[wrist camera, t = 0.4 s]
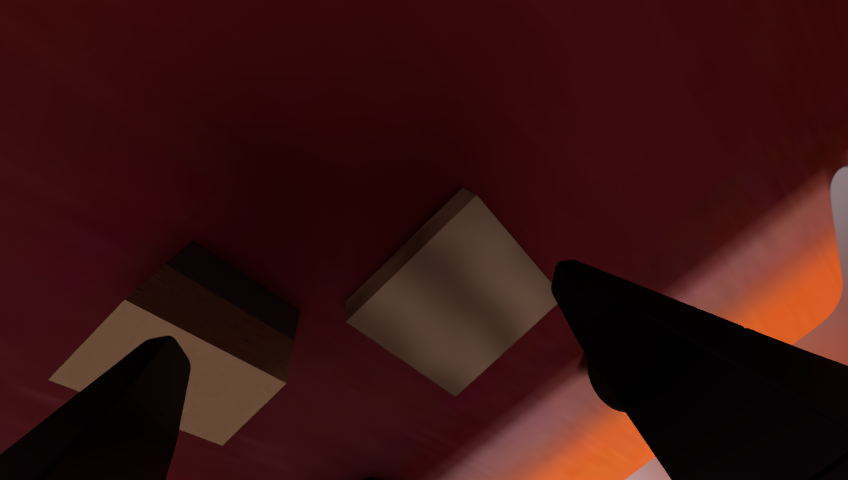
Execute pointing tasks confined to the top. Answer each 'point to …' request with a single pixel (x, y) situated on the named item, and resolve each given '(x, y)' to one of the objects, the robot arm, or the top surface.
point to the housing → (200, 339)
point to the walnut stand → (453, 295)
